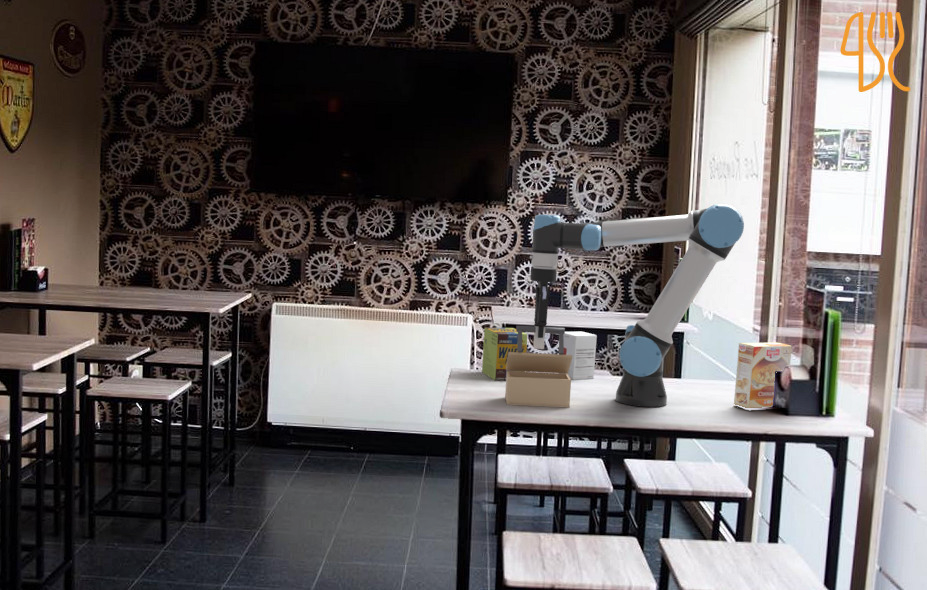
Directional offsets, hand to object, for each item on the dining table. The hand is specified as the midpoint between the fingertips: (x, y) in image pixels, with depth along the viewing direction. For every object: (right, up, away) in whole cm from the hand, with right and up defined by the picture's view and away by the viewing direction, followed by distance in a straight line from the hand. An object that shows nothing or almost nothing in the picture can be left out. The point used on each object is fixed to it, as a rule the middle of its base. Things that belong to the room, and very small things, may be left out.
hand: (538, 347), depth 287 cm
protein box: (-9, -12, +39) cm, 42 cm away
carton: (-1, -16, 0) cm, 16 cm away
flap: (0, -4, -1) cm, 4 cm away
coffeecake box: (+67, -19, +8) cm, 70 cm away
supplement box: (+16, -13, +46) cm, 50 cm away
